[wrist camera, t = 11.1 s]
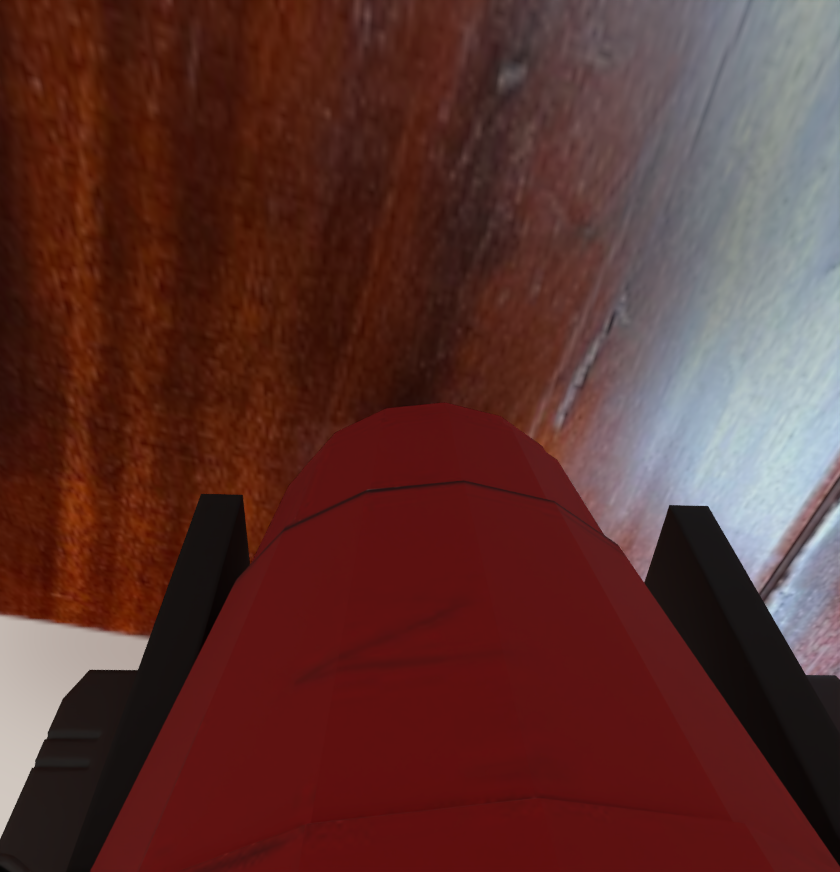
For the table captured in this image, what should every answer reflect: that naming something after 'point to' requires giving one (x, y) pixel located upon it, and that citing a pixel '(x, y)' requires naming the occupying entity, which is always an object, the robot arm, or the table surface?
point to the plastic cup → (449, 688)
